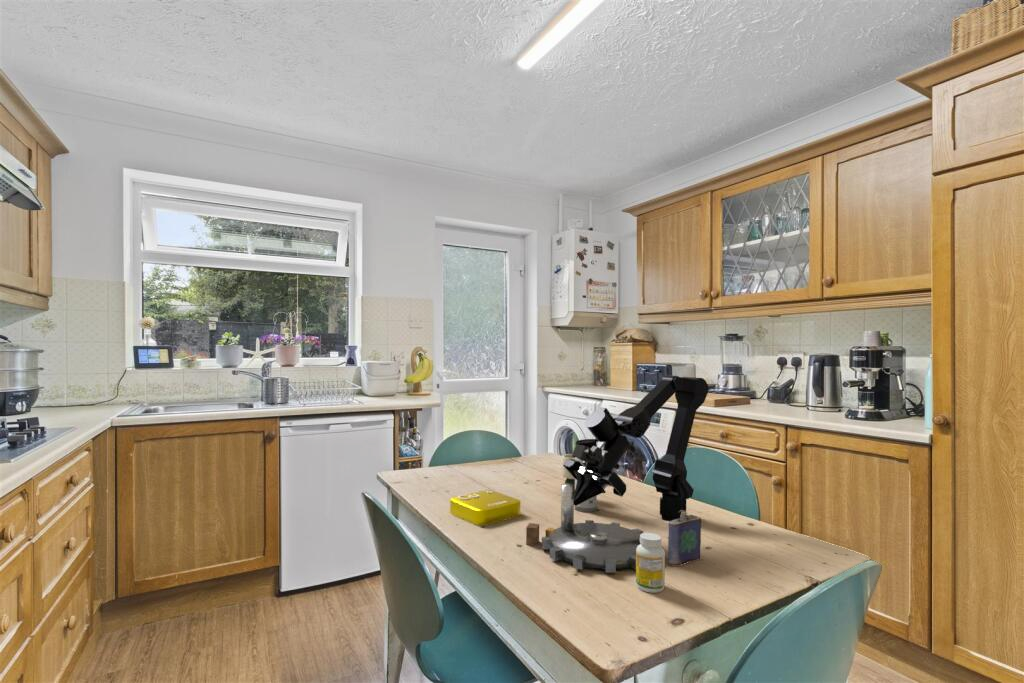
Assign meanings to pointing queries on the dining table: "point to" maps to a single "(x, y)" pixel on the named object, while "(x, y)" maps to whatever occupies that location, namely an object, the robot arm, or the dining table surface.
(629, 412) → the robot arm
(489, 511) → the element tile
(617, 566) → the sprocket
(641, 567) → the supplement bottle
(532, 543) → the brown rectangular block
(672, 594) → the dining table surface
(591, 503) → the travel mug
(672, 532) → the flask
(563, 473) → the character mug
